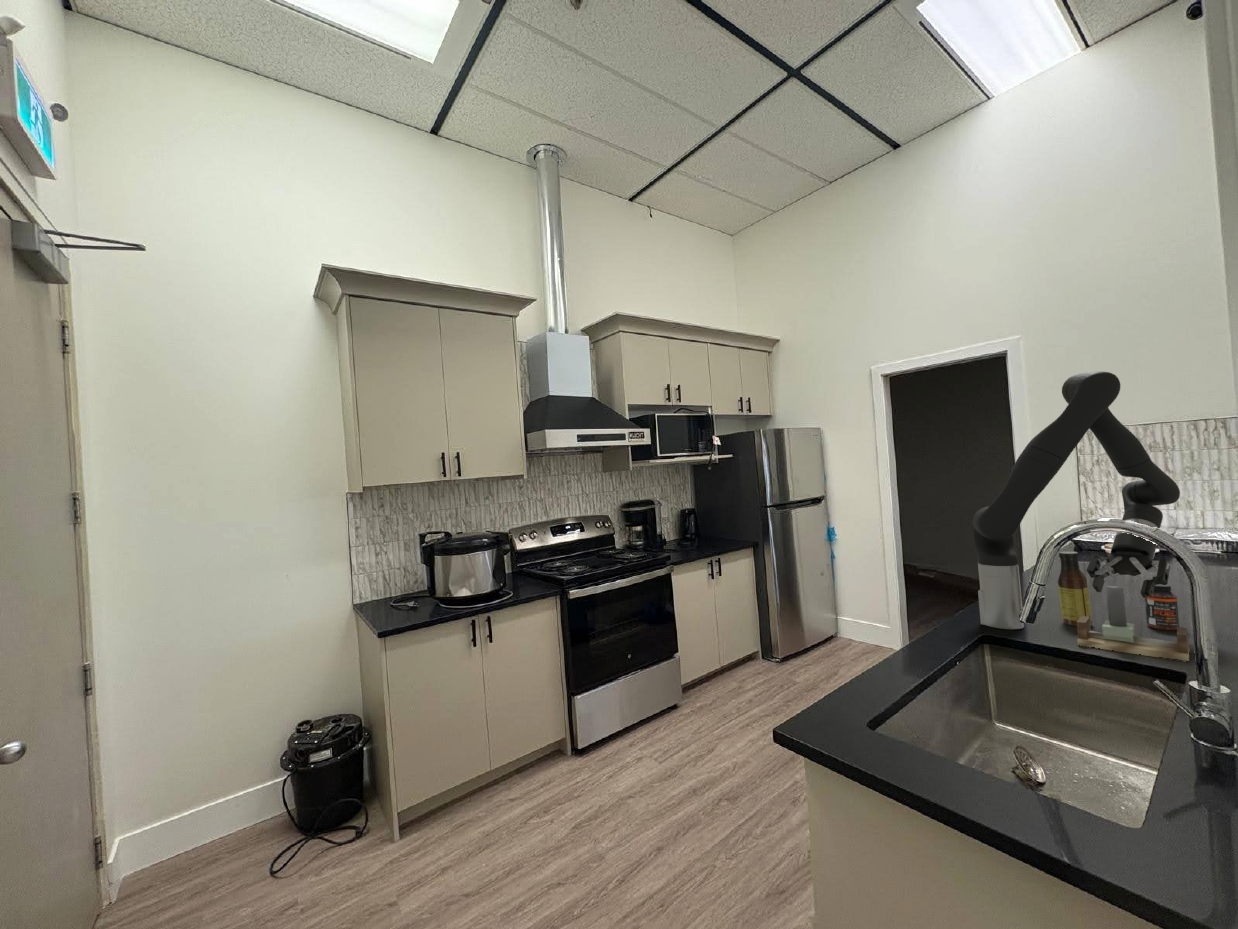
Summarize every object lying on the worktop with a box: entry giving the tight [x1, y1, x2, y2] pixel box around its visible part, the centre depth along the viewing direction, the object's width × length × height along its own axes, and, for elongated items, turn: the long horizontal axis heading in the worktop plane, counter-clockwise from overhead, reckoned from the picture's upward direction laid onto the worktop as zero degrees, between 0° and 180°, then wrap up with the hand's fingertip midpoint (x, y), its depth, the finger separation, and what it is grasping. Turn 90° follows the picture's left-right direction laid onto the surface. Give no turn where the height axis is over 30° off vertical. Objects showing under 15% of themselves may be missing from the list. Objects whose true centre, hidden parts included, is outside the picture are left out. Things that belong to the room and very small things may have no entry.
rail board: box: [1076, 616, 1191, 662], centre depth 120 cm, size 18×9×6 cm, turn 41°
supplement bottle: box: [1144, 584, 1181, 631], centre depth 134 cm, size 6×6×11 cm
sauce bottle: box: [1057, 550, 1093, 627], centre depth 141 cm, size 7×6×20 cm
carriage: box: [1101, 585, 1136, 643], centre depth 122 cm, size 5×6×12 cm
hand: (1120, 593), depth 123 cm, fingers open, 8 cm apart
